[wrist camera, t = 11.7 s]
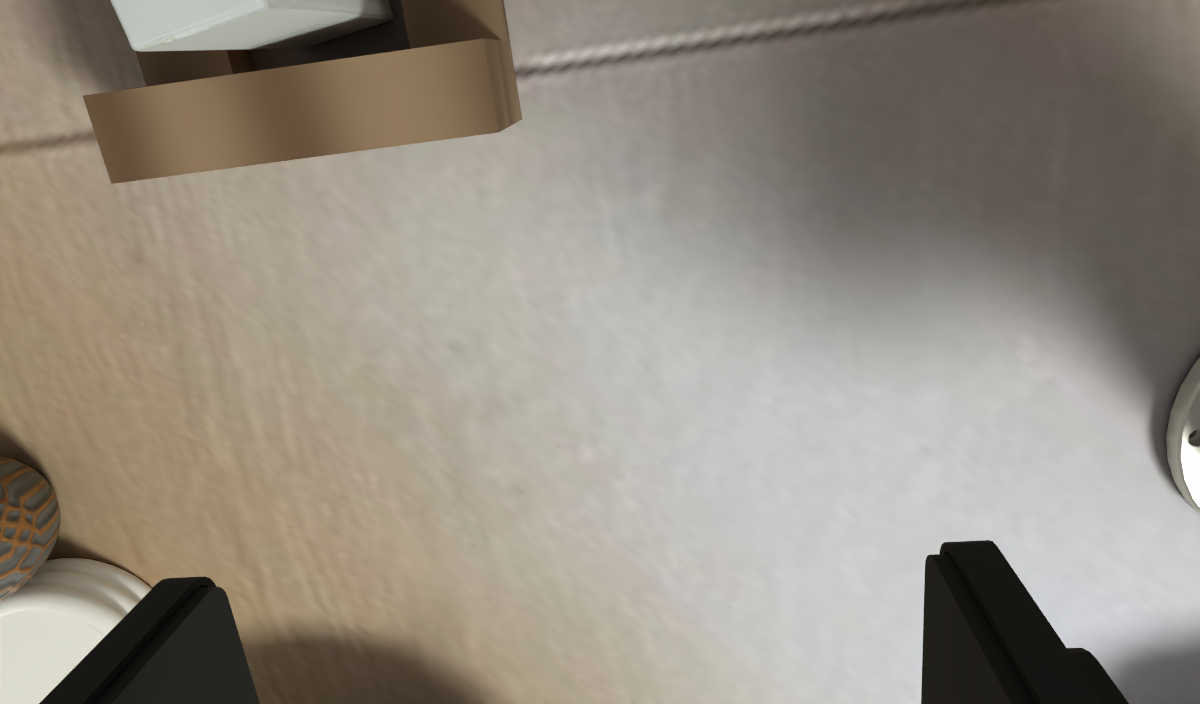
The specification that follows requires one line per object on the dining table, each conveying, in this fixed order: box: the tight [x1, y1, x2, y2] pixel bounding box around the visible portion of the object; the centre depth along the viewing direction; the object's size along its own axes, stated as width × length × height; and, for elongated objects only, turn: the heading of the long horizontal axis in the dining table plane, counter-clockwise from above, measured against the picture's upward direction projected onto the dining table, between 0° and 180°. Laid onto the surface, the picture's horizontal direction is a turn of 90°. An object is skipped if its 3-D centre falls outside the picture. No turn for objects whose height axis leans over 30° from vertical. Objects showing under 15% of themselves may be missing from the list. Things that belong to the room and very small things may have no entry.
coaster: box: [0, 558, 152, 704], centre depth 42 cm, size 10×10×4 cm
